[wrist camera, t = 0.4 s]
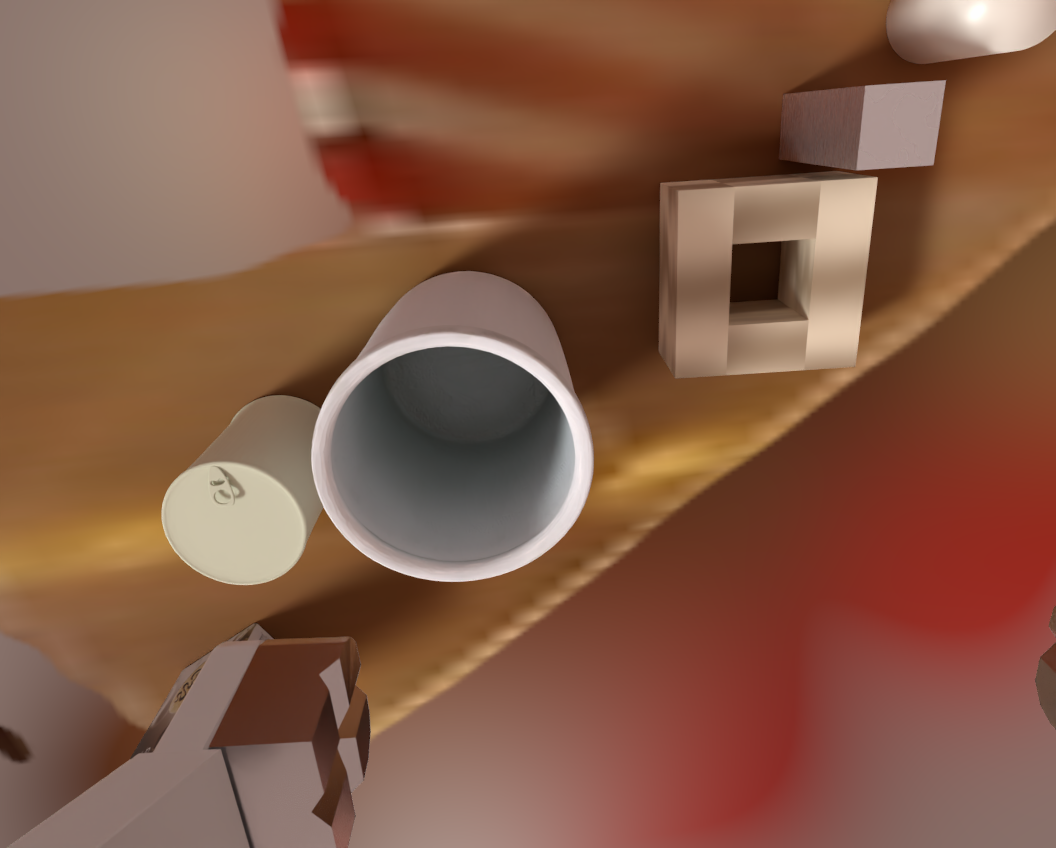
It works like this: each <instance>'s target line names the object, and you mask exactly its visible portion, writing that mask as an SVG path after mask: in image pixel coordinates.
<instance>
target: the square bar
mask: <svg viewBox="0 0 1056 848" xmlns="http://www.w3.org/2000/svg"><path fill="white" fill-rule="evenodd" d="M945 83H946V80H941V81H926V82H912V83H898V84H883V85H869V86H858V87H848V88H838V89H829V90H819V91H809V92H799V93H790V94H783V104H782V119H781V134H780V148H779V159H780V160H787V161H794V162H801V163H808V164H815V165H822V166H829V167H836V168H843V169H850V170H870V169H885V168H899V167H914V166H929V165H934V158H935V152H936V145H937V138H938V131H939V124H940V118H941V111H942V104H943V97H944V90H945Z"/></svg>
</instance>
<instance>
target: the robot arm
mask: <svg viewBox="0 0 1056 848" xmlns="http://www.w3.org/2000/svg"><path fill="white" fill-rule="evenodd" d="M1049 627H1050V629H1051V631H1052V632H1053V634H1054V635H1055V637H1056V606H1055V607H1054V609H1053V613H1052V616H1051V620H1050V623H1049ZM360 666H361V663H360V658H359V654H358V649H357V645H356V642H355V641H354V640H353V639H352V638H351V637H324V638H295V639H267V640H266V641H263V640H252V641H230V642H223V643H221V644H220V645H218V646H216V647H215V648H214V649H213V650H212V652H211V654H210V655H209V657H208V659H207V660H206V662H205V664H204V666H203V667H202V669H201V671H200V672H199V674H198V676H197V678H196V679H195V681H194V683H193V684H192V686H191V688H190V690H189V691H188V693H187V695H186V696H185V698H184V700H183V702H182V703H181V705H180V707H179V708H178V710H177V712H176V714H175V715H174V717H173V719H172V720H171V722H170V724H169V726H168V727H167V729H166V731H165V732H164V734H163V736H162V738H161V739H160V741H159V743H158V744H157V746H156V748H155V750H154V751H153V753H139V754H137V755H136V756H134V757H133V758H132V759H130V760H129V761H128V762H126V763H125V764H123V765H122V766H120V767H119V768H118V769H116V770H115V771H113V772H112V773H111V774H109V775H108V776H106V777H105V778H104V779H103V780H101V781H99V782H98V783H97V784H95V785H94V786H92V787H91V788H90V789H88V790H87V791H85V792H84V793H83V794H81V795H80V796H78V797H77V798H76V799H74V800H73V801H71V802H70V803H69V804H67V805H66V806H64V807H63V808H62V809H60V810H59V811H57V812H56V813H55V814H53V815H52V816H50V817H49V818H48V819H46V820H45V821H44V822H42V823H41V824H39V825H38V826H36V827H35V828H34V829H32V830H31V831H29V832H28V833H27V834H25V835H24V836H22V837H21V838H20V839H18V840H17V841H16V842H14V843H13V844H11V845H10V846H8V847H7V848H348V845H349V841H350V837H351V832H352V829H353V824H354V820H355V816H356V815H355V810H354V805H353V800H352V795H351V793H352V792H353V791H354V790H355V789H356V788H357V787H358V786H359V785H360V784H361V783H362V782H363V781H364V777H365V772H366V768H367V763H368V758H369V746H370V733H371V731H370V713H369V706H368V701H367V695H366V694H365V693H364V692H363V691H362V690H361V689H359V688H358V687H357V686H356V685H355V684H356V681H357V677H358V674H359V670H360ZM1035 682H1036V687H1037V692H1038V696H1039V701H1040V705H1041V707H1042V709H1043V710H1044V713H1045V714H1046V716H1047V718H1048V720H1049V721H1050V723H1051V725H1052V726H1053V727H1054V728H1055V729H1056V643H1055V644H1053V645H1052V646H1051V647H1050V648H1049V649H1048V650H1047V651H1046V652H1045V653H1044V654H1043V655H1042V656H1041V657H1040V660H1039V665H1038V670H1037V674H1036V679H1035Z"/></svg>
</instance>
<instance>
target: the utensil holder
mask: <svg viewBox="0 0 1056 848" xmlns="http://www.w3.org/2000/svg"><path fill="white" fill-rule="evenodd" d="M311 462H312V472H313V477H314V482H315V485H316V489H317V492H318V495H319V498H320V500H321V502H322V504H323V507H324V509H325V510H326V512H327V514H328V515H329V517H330V518H331V520H332V522H333V523H334V524H335V526H336V527H337V528H338V530H339V531H340V532H341V533H342V534H343V536H344V537H345V538H346V539H347V540H348V541H349V542H350V543H351V544H352V545H354V546H355V547H356V548H357V549H358V550H359V551H361V552H362V553H363V554H365V555H366V556H368V557H369V558H371V559H372V560H374V561H376V562H378V563H379V564H381V565H383V566H385V567H387V568H390V569H392V570H394V571H397V572H400V573H403V574H406V575H409V576H413V577H417V578H421V579H427V580H434V581H445V582H462V581H472V580H479V579H485V578H490V577H494V576H498V575H501V574H504V573H507V572H510V571H513V570H515V569H517V568H520V567H522V566H524V565H526V564H528V563H530V562H532V561H533V560H535V559H537V558H538V557H540V556H541V555H543V554H544V553H545V552H547V551H548V550H549V549H550V548H552V547H553V546H554V545H555V544H556V543H557V542H558V541H559V540H560V539H561V538H562V537H563V536H564V535H565V534H566V533H567V532H568V530H569V529H570V528H571V527H572V525H573V524H574V522H575V521H576V520H577V518H578V516H579V515H580V513H581V511H582V509H583V507H584V505H585V502H586V499H587V497H588V494H589V491H590V486H591V482H592V477H593V467H594V451H593V442H592V436H591V431H590V427H589V424H588V420H587V417H586V415H585V412H584V410H583V407H582V405H581V403H580V401H579V399H578V397H577V395H576V394H575V392H574V388H573V384H572V381H571V377H570V373H569V370H568V366H567V362H566V359H565V356H564V353H563V350H562V347H561V344H560V341H559V338H558V336H557V333H556V331H555V328H554V326H553V324H552V322H551V320H550V318H549V317H548V315H547V313H546V312H545V311H544V309H543V308H542V307H541V305H540V304H539V303H538V302H537V301H536V300H535V299H534V298H533V297H532V296H531V295H530V294H529V293H528V292H526V291H525V290H524V289H523V288H521V287H519V286H518V285H516V284H515V283H513V282H511V281H509V280H507V279H504V278H501V277H499V276H496V275H492V274H488V273H483V272H475V271H458V272H451V273H446V274H442V275H438V276H435V277H433V278H430V279H428V280H426V281H424V282H422V283H420V284H419V285H417V286H415V287H414V288H413V289H411V290H410V291H409V292H407V293H406V294H405V295H404V296H403V297H402V298H401V299H400V300H399V301H398V302H397V303H396V304H395V305H394V307H393V308H392V309H391V310H390V311H389V313H388V314H387V315H386V316H385V317H384V319H383V320H382V321H381V323H380V324H379V325H378V327H377V329H376V330H375V332H374V333H373V335H372V336H371V338H370V339H369V341H368V343H367V344H366V346H365V347H364V349H363V350H362V351H361V353H360V354H359V356H358V357H357V359H356V360H355V361H353V362H352V363H351V364H350V366H349V367H348V368H347V369H346V370H345V371H344V372H343V373H342V374H341V376H340V377H339V378H338V379H337V381H336V382H335V384H334V385H333V387H332V388H331V390H330V392H329V394H328V395H327V397H326V399H325V401H324V403H323V405H322V408H321V410H320V413H319V415H318V418H317V421H316V425H315V429H314V434H313V440H312V449H311Z"/></svg>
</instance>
